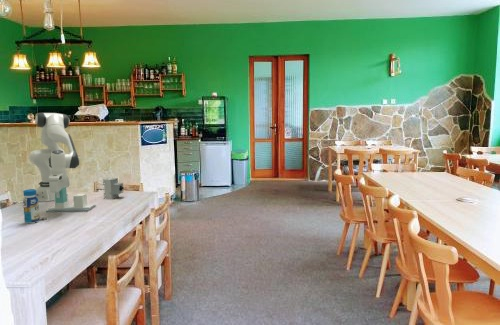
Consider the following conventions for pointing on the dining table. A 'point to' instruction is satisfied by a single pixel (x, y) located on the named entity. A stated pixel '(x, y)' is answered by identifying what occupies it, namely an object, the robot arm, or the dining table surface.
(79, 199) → the mounting panel
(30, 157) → the robot arm
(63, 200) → the block
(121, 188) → the circuit breaker
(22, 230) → the dining table surface
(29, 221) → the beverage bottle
